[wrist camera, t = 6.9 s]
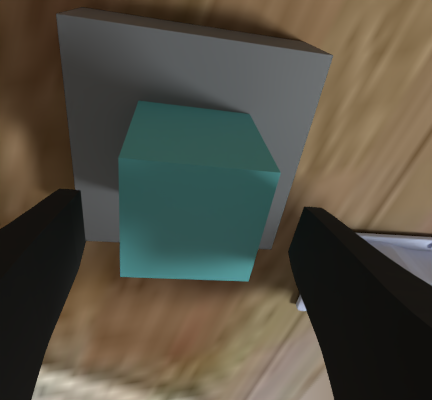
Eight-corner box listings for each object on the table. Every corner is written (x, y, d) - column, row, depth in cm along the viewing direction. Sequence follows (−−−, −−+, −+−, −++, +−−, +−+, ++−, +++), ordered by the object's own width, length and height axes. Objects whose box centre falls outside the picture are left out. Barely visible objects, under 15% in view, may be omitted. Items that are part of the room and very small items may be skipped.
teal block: (249, 114, 13) (280, 172, 9) (230, 203, 16) (248, 281, 12) (138, 100, 13) (118, 157, 8) (136, 196, 15) (120, 276, 11)
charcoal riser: (304, 41, 15) (332, 55, 12) (258, 212, 21) (271, 249, 18) (82, 7, 14) (56, 13, 11) (95, 201, 19) (80, 240, 16)
